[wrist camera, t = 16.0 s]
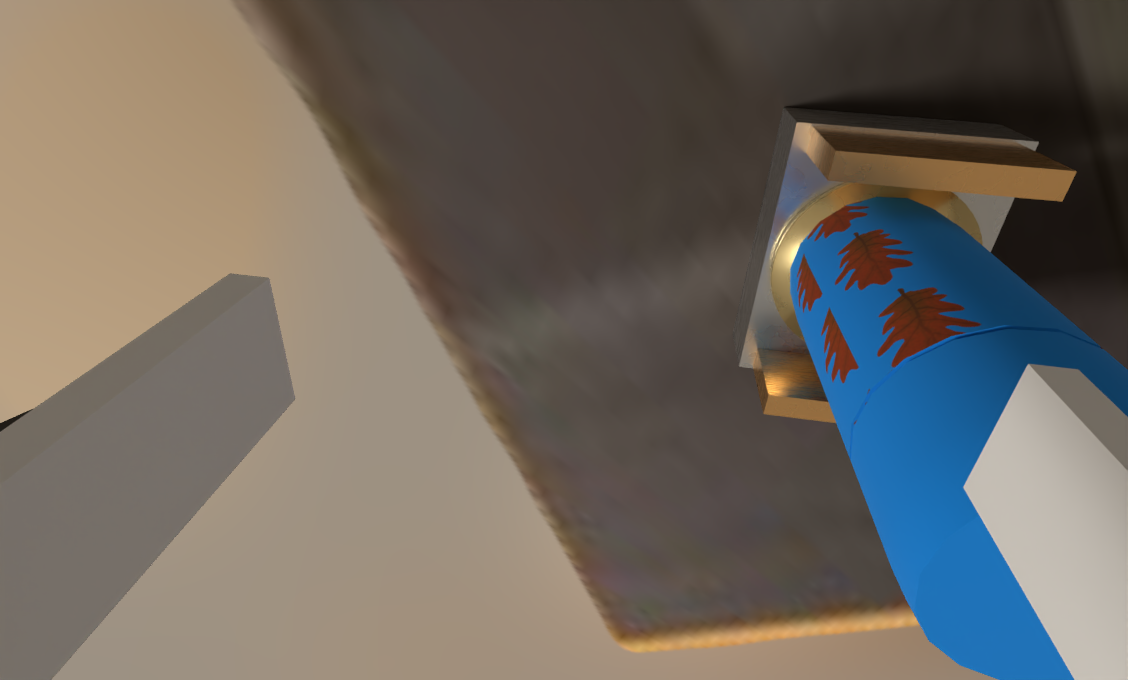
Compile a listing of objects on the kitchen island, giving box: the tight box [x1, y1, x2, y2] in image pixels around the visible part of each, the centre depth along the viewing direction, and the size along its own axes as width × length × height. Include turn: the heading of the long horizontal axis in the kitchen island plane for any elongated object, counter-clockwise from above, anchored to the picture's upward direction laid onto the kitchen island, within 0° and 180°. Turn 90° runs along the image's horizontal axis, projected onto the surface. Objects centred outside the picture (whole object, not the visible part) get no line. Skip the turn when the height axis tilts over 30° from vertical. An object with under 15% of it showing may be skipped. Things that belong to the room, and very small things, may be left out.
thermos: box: [790, 197, 1128, 680], centre depth 31 cm, size 11×11×25 cm
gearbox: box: [733, 107, 1077, 423], centre depth 41 cm, size 14×18×11 cm
